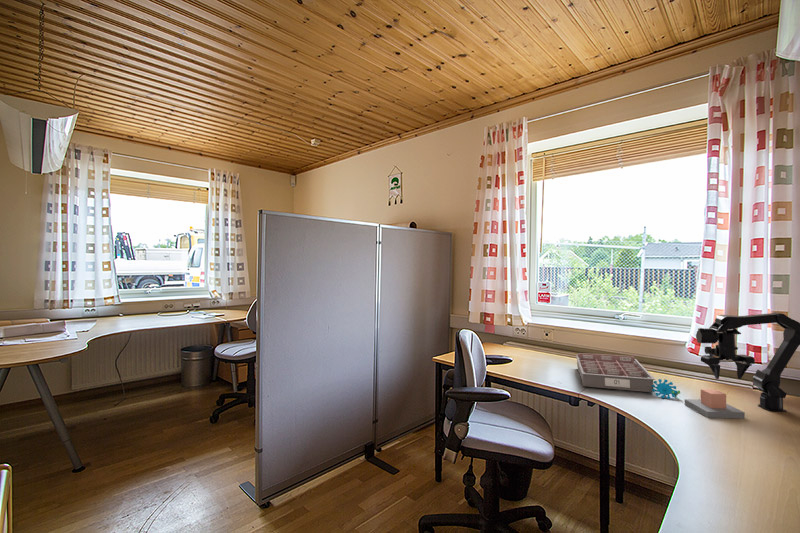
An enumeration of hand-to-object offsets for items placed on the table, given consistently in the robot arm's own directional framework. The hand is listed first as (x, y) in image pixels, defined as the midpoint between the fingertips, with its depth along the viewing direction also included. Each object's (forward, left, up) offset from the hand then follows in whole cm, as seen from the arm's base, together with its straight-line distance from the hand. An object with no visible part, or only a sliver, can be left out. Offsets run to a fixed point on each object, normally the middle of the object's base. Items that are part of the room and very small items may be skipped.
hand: (728, 378), depth 163 cm
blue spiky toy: (+21, -10, -12) cm, 26 cm away
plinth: (+11, +7, -12) cm, 18 cm away
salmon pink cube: (+11, +7, -9) cm, 16 cm away
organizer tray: (+34, -35, -12) cm, 50 cm away
